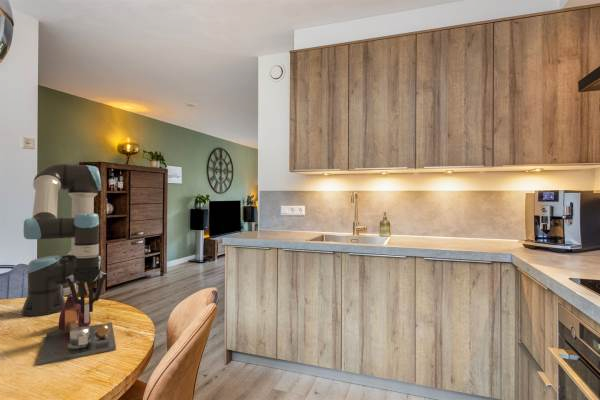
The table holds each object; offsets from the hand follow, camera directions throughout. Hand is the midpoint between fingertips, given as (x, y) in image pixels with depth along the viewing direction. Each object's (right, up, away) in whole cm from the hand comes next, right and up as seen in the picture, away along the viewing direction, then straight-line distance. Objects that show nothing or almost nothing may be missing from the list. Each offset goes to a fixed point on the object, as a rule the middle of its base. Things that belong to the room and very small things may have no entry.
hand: (86, 321), depth 122 cm
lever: (+2, -2, -9) cm, 10 cm away
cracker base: (+2, -5, -7) cm, 9 cm away
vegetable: (-10, -5, +8) cm, 13 cm away
